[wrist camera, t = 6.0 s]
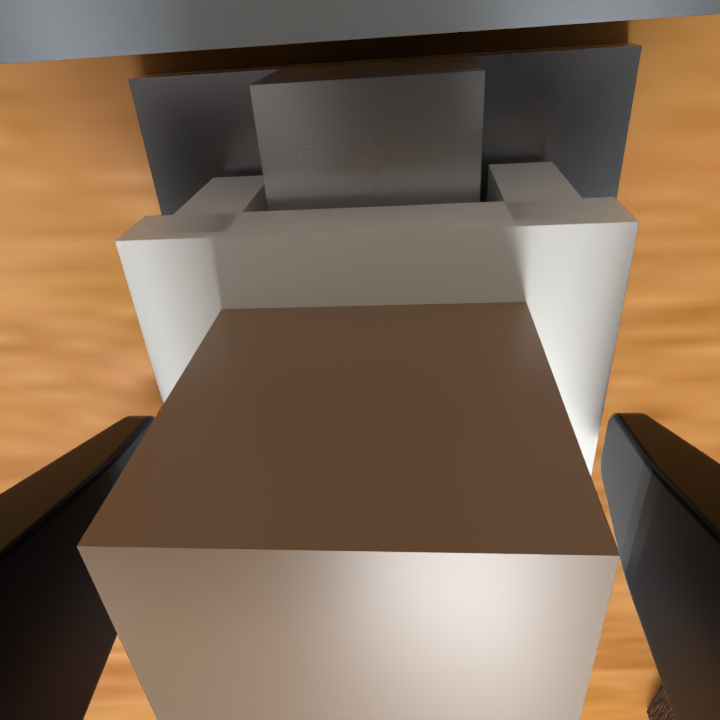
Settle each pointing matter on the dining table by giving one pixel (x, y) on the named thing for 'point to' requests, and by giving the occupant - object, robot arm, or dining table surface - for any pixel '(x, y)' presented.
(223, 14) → the grey notched block
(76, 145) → the dining table surface
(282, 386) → the carriage
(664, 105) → the dining table surface
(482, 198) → the rail
